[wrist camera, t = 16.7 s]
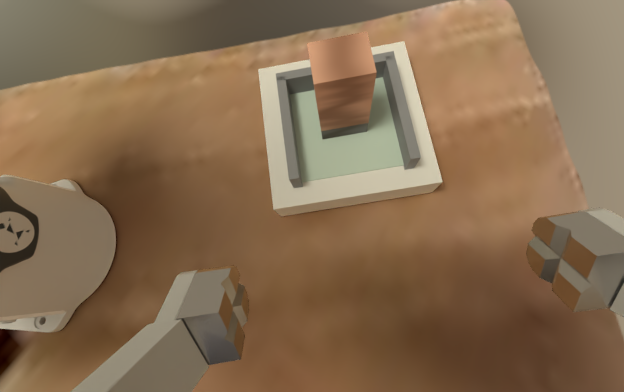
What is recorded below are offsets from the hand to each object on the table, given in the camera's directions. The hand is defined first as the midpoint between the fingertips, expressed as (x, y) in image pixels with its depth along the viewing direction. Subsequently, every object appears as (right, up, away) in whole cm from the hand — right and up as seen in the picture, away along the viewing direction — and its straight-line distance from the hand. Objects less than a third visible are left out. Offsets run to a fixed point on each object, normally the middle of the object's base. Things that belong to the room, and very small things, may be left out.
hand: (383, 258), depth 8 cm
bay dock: (+2, +9, +29) cm, 31 cm away
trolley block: (+1, +10, +25) cm, 27 cm away
